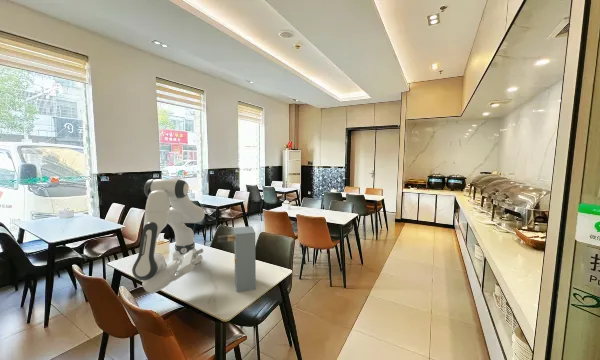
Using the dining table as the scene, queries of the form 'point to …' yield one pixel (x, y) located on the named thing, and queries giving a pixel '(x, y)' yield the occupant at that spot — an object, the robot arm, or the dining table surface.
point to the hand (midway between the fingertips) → (202, 252)
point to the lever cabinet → (245, 259)
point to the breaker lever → (226, 238)
